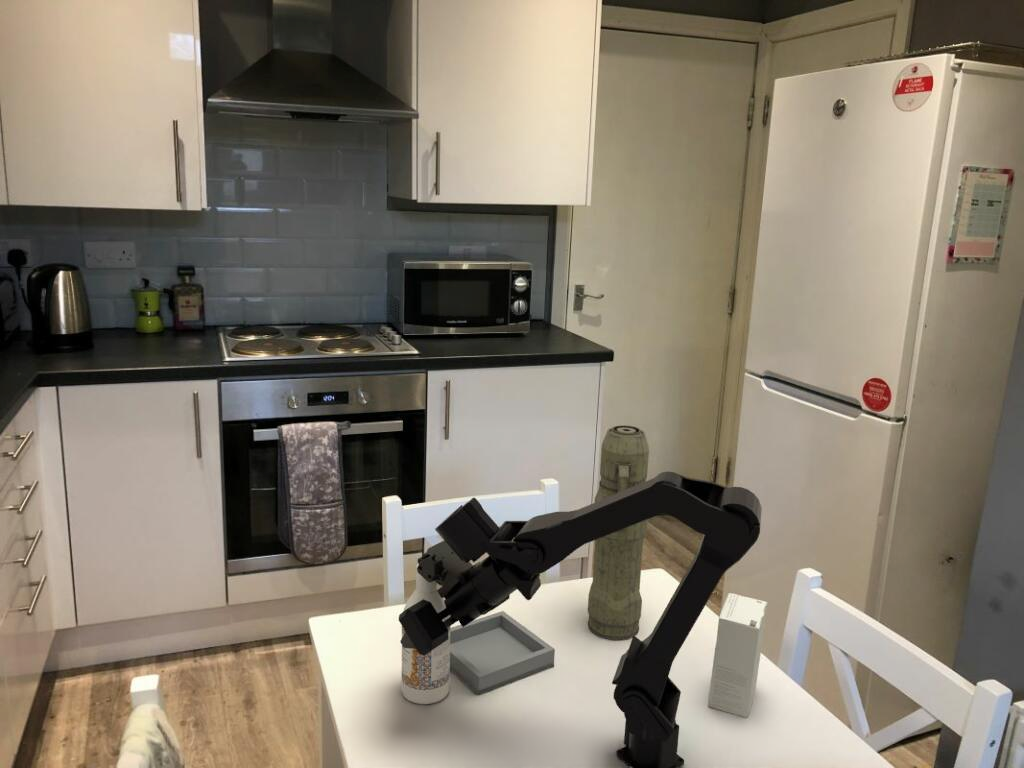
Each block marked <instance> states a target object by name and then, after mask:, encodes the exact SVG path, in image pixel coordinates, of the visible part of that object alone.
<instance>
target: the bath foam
mask: <svg viewBox="0 0 1024 768" xmlns="http://www.w3.org/2000/svg"><path fill="white" fill-rule="evenodd" d="M418 565H419V564H417V565H416V567H415V568H416V569H415V570H416V572H415V574H416V575H415V577H416V582H415V583H416V584H415V586H416V587H415V590H414V591H413V592H412V594H411V595H410V597H409V598H408V600H407V601H406V603H405V606H404V608H403V611H402V612H404V611H405V610H406V609H408V608H409V607H411V606H413V605H414V604H416V603H418V602H420V601H421V600H423V599H424V600H426V601H429V602H431V603H432V605H433V607H434V608H435V610H436V611H437V613H439V612H441V611H442V610H444V609H445V608H446V606H445V603H444V600H445V598H441V597H440V595H439V593H438V592H437V590H438V589H439V588H438V586H437V585H438V584H437V583H436V582H435V581H432V582H427V581H426V580H425V579H424V578H423V577H422V576H421V575H420V574H419V573H418V571H417V567H418ZM449 617H450V615H449V616H448V617H446V618H445V619H443V620H442V621H445V620H446V619H448V618H449ZM450 628H451V626H450V627H448V628H447V629H448V640H447V641H445V642H444V643H442V644H441V645H440V646H438V647H437V648H435V649H434V650H432V651H431V652H429V653H428V654H426V655H425V656H423V655H421V654H419V653H418V651H417V650H416V649H411V648H404V647H403V646H402V645H401V692H402V694H403V697H404V698H405V699H406V700H408V701H410V702H411V703H415V704H419V705H431V704H435V703H438V702H440V701H442V700H443V699H444V698H446V696H447V695H448V693H449V691H450V677H451V675H450V673H451V670H450ZM404 633H405V630H404V628H403V627H402V626H401V638H402V637H403V635H404Z"/></svg>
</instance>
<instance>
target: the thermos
mask: <svg viewBox="0 0 1024 768" xmlns="http://www.w3.org/2000/svg"><path fill="white" fill-rule="evenodd" d="M600 448H601V450H600V451H601V452H600V466H599V467H600V468H599V474H600V480H599V482H598V483H599V484H598V490H597V493H596V495H595V497H594V501H593V503H595V502H598V501H600V500H602V499H605V498H607V497H610V496H612V495H614V494H617V493H619V492H622V491H624V490H626V489H629V488H631V487H634V486H636V485H638V484H641V483H643V482H646V481H647V480H646V479H647V477H648V468H649V456H650V449H649V444H648V440H647V435H646V432H645V431H644V430H642V429H640V428H639V427H637V426H632V425H623V424H622V425H615V426H613V427H610V428H608V429H607V431H606V433H605V436H604V438H603V441H602V443H601V447H600ZM648 521H649V519H647V520H644V521H642V522H639V523H637V524H634V525H632V526H629V527H627V528H624V529H622V530H619V531H617V532H614V533H612V534H609V535H607V536H604V537H601V538H599V539H596V540H594V551H593V552H594V554H593V569H592V583H591V584H590V588H589V593H588V597H587V601H588V602H587V614H588V620H587V627H588V630H589V632H590V633H591V634H593V635H595V636H596V637H599V638H601V639H604V640H607V641H617V642H618V641H619V642H620V641H628V640H630V639H632V638H633V636H635V637H637V635H638V634H639V631H640V619H641V618H642V607H643V600H642V595H641V591H640V588H641V587H640V586H641V576H642V561H643V560H642V559H643V545H644V538H645V537H646V534H647V532H648V523H649V522H648Z"/></svg>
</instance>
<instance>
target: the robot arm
mask: <svg viewBox="0 0 1024 768" xmlns="http://www.w3.org/2000/svg"><path fill="white" fill-rule="evenodd" d="M594 502H595V501H594ZM594 502H593V503H591V504H589V505H586V506H584V507H581V508H579V509H575V510H571V511H553V512H549V513H544V514H540V515H536V516H533V517H531V518H530V519H528V520H505V521H504V522H503V523H502V524H501V525H500V526H499V525H497V524H496V522H495V520H493V518H492V517H491V516H490V515H489V514H488V513H487V512H486V510H485V509H484V508H483V505H482V504H481V503H480V502H479V500H478V499H477V498H476V497H472V498H470V500H469V501H467V502H466V503H465V504H464V505H462V504H461V505H460V506H459V507H457V508H456V509H455V510H454V511H453V512H452V513H451V514H450V515H448V516H447V517H446V518H445V519H444V520H443V521H442V522H441V523H440V524H438V526H436V527H435V528H434V530H435V532H436V533H437V534H438V535H439V536H440V538H441V539H442V540H441V541H440V542H437V543H435V544H434V545H432V546H431V547H429V548H427V550H426V552H425V553H423V554H422V556H420V557H419V558H418V559H417V563H418V564H419V565H418V564H417V565H418V567H417V566H416V567H417V571H418V573H419V574H420V575H421V576H422V577H423V578H424V579H425V580H426V581H427V582H432V581H435V582H436V583H437V585H439V586H441V587H440V588H437V589H438V590H437V592H438V593H439V595H440V597H441V598H444V599H445V600H444V603H445V606H446V608H445V609H444V610H442V611H441V612H439V613H437V611H436V610H435V608H434V607H433V605H432V603H431V602H429V601H426V600H424V599H423V600H421V601H420V602H418V603H416V604H414V605H413V606H411V607H409V608H408V609H406V610H405V611H404V610H403V611H404V612H403V611H402V612H401V613H400V614H399V615H398V622H399V623H400V625H401V628H402V627H403V628H404V630H405V633H404V635H403V637H402V636H401V639H400V641H399V642H400V644H401V647H402V646H403V647H404V648H411V649H416V650H417V651H418V653H419V654H421V655H423V656H425V655H426V654H428V653H429V652H431V651H432V650H434V649H435V648H437V647H438V646H440V645H441V644H442V643H444V642H445V641H447V640H448V629H447V628H448V627H450V628H451V626H452V625H454V624H456V623H457V622H459V625H462V627H464V626H466V625H467V624H469V623H470V622H472V621H473V620H477V619H479V618H480V617H481V616H485V615H486V614H488V613H489V612H491V611H494V610H495V609H496V608H498V607H500V606H501V605H503V604H504V603H505V602H507V601H508V600H509V599H510V595H511V594H513V593H514V592H515V591H518V592H519V593H520V594H521V595H522V596H523V598H524V599H525V600H526V601H530V600H531V599H532V598H533V597H534V596H535V594H536V593H537V592H538V590H539V589H540V588H541V586H542V581H541V578H540V576H541V574H543V573H545V572H546V571H548V570H551V568H553V567H555V566H556V565H557V564H559V563H561V562H563V560H565V559H566V558H568V557H569V556H570V555H572V554H573V552H575V551H577V549H579V548H581V547H582V546H584V545H586V544H588V543H589V544H590V543H592V542H595V540H596V539H599V538H601V537H604V536H607V535H609V534H612V533H614V532H617V531H619V530H622V529H624V528H627V527H629V526H632V525H634V524H637V523H639V522H642V521H644V520H647V519H648V520H649V519H652V518H654V517H657V516H659V515H662V514H665V515H668V516H670V517H672V518H675V519H676V520H678V521H679V522H681V524H683V525H685V526H687V527H688V528H689V529H692V530H693V531H694V532H696V533H699V534H702V535H703V536H702V538H701V541H700V544H699V547H698V550H697V552H696V553H695V554H694V557H693V559H692V560H691V563H689V566H688V567H687V569H686V571H685V573H684V575H683V577H682V579H681V580H680V582H679V583H678V585H677V586H676V589H675V590H674V592H673V594H672V596H671V598H670V600H669V601H668V603H667V605H666V607H665V609H664V610H663V612H662V614H661V616H660V617H659V619H658V621H657V622H656V624H655V626H654V628H653V630H652V632H651V633H650V634H649V635H648V636H647V637H646V638H645V639H643V640H640V639H639V638H638V637H637V636H633V638H631V641H630V644H629V647H628V649H627V650H626V652H625V653H623V654H622V655H621V657H620V658H619V662H618V664H617V667H616V670H615V673H614V676H613V678H612V681H611V684H612V685H615V688H614V690H613V700H614V702H615V704H616V706H617V707H618V709H619V710H620V711H621V712H622V713H623V715H624V717H625V724H624V737H623V738H624V739H623V744H624V745H625V746H623V747H621V748H619V749H617V750H616V754H615V755H616V756H617V757H618V758H619V759H620V760H621V761H622V762H624V763H625V764H626V765H628V767H630V768H680V767H683V766H684V765H685V759H684V758H683V757H681V756H680V755H678V748H679V747H678V746H679V735H680V733H679V732H680V725H679V724H677V722H676V721H677V720H676V717H677V711H678V710H679V709H678V708H679V704H680V699H681V694H682V691H681V690H680V689H679V688H678V686H677V685H676V684H675V683H674V682H673V680H672V679H671V678H670V677H669V675H670V672H671V668H672V666H673V663H674V661H675V659H676V657H677V655H678V653H679V651H680V650H681V648H682V647H683V644H684V643H685V642H686V639H687V638H688V636H689V635H690V633H691V631H692V630H693V628H694V626H695V623H696V622H697V620H698V618H700V616H701V614H702V612H703V611H704V608H705V607H706V606H707V603H708V602H709V600H710V598H711V597H712V595H713V593H714V591H715V589H716V588H717V586H718V584H719V582H720V581H721V579H722V577H723V576H724V574H725V573H726V572H727V571H728V570H730V569H731V568H732V567H733V566H734V565H736V564H737V563H738V562H740V561H741V560H742V558H744V556H745V555H746V554H747V553H748V552H749V551H750V549H751V548H752V547H753V546H754V544H756V542H757V541H758V538H759V536H760V533H761V524H762V523H761V522H762V511H763V510H762V505H761V502H760V499H759V498H758V497H757V495H756V493H753V492H752V491H751V490H750V489H747V488H744V487H741V486H731V487H728V486H725V485H722V484H719V483H716V482H715V481H709V480H704V479H697V478H694V477H692V478H691V477H688V476H684V475H682V474H679V473H676V472H674V471H668V470H667V471H664V472H660V473H659V474H657V475H655V477H652V478H651V479H648V480H646V481H645V482H643V483H641V484H638V485H636V486H634V487H631V488H629V489H626V490H624V491H622V492H619V493H617V494H614V495H612V496H610V497H607V498H605V499H602V500H600V501H598V502H595V503H594ZM486 554H487V556H486V557H485V558H484V559H482V560H481V561H478V560H480V558H481V557H483V556H484V555H486ZM471 561H472V562H473V563H475V562H476V561H478V562H476V563H475V564H474V565H473V564H472V563H471ZM449 615H450V617H449V618H448V619H446V620H445V621H442V620H443V619H445V618H446V617H448V616H449Z"/></svg>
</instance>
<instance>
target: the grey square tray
mask: <svg viewBox="0 0 1024 768" xmlns="http://www.w3.org/2000/svg"><path fill="white" fill-rule="evenodd" d="M555 650H556V648H554V647H553V646H551V645H550V644H548V642H546V641H545V640H543V639H542V638H541V637H539V636H537V635H536V634H535V633H534V632H532V631H531V630H530V629H528V628H527V627H526V626H524V625H523V624H521V623H520V622H518V621H517V620H516V619H514V618H513V617H512V616H511V615H509V614H508V613H507V612H505V611H504V610H501V611H499V612H496V613H493V614H489V615H487V616H483V617H479V618H476V619H475V620H473V621H472V622H470V623H469V624H467V625H466V626H464V627H462V625H461V624H459V625H455V626H452V627H450V672H453V674H454V675H456V676H457V677H458V678H459V680H461V681H462V682H463V683H464V684H466V686H468V688H469V689H471V690H472V691H473V692H474V693H476V695H477V696H481V695H484V694H486V693H488V692H491V691H493V690H496V689H500V688H501V687H504V686H507V685H510V684H512V683H514V682H517V681H520V680H523V679H525V678H528V677H530V676H533V675H535V674H538V673H541V672H543V671H545V670H548V669H551V668H554V667H555V657H556V656H555V652H556V651H555Z"/></svg>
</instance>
